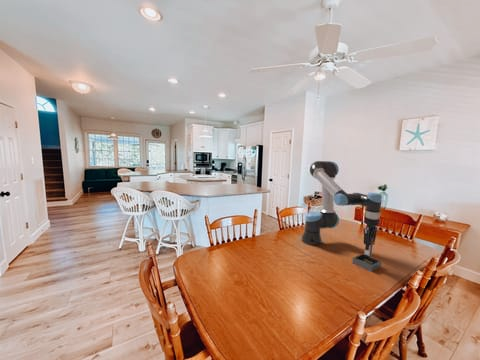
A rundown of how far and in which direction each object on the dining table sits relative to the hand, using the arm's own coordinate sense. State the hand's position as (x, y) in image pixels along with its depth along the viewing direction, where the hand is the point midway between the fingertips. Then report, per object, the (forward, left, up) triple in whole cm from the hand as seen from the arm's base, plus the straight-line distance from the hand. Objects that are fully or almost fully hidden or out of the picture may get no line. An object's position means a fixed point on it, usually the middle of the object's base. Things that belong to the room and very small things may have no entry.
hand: (368, 254), depth 128 cm
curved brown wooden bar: (0, 0, -1) cm, 1 cm away
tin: (0, 0, -7) cm, 7 cm away
